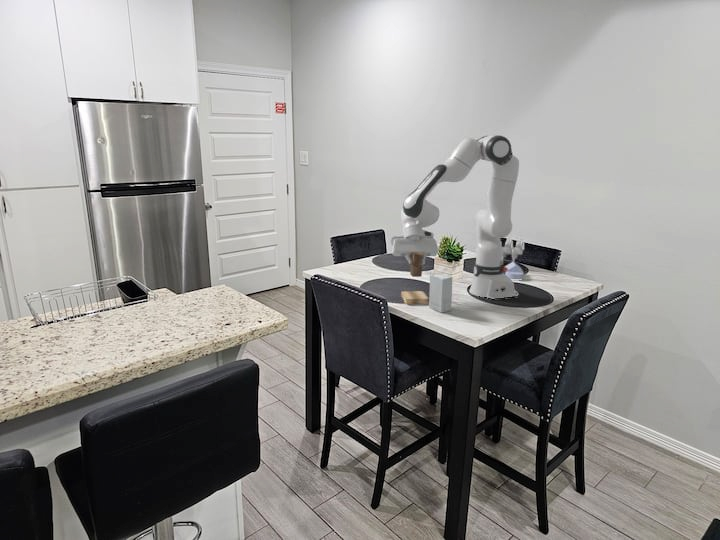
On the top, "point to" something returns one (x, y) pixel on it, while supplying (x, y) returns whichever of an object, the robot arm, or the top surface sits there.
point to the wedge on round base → (514, 271)
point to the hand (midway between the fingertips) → (417, 263)
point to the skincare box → (440, 292)
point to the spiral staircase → (511, 249)
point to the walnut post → (416, 264)
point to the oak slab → (414, 297)
